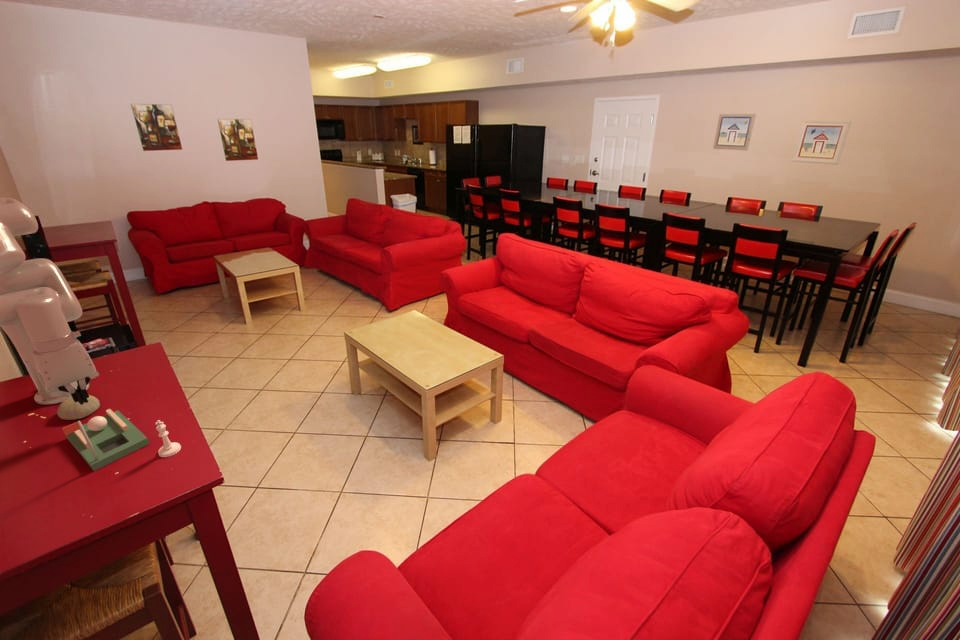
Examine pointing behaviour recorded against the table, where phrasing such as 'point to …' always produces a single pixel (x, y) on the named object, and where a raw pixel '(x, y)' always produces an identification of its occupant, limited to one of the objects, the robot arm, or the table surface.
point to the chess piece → (166, 442)
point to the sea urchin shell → (77, 408)
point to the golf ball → (97, 423)
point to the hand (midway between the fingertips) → (83, 401)
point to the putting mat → (106, 440)
